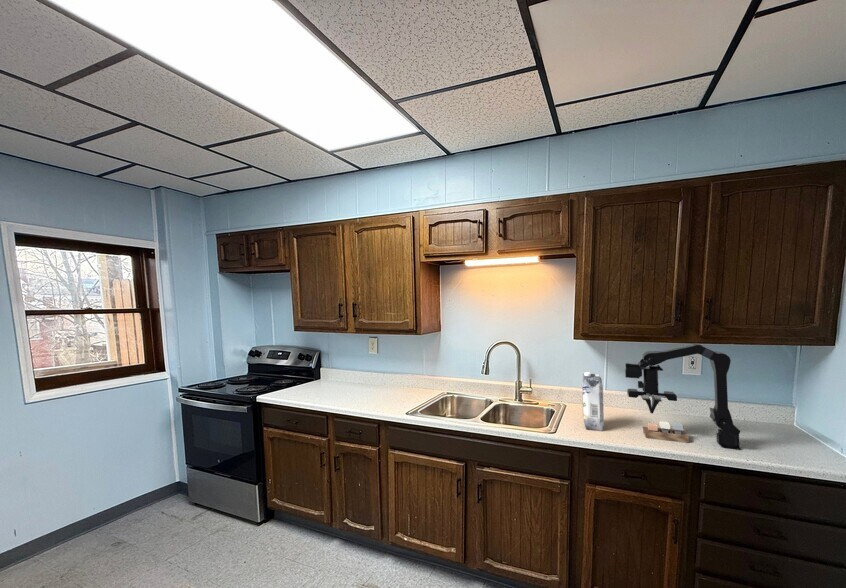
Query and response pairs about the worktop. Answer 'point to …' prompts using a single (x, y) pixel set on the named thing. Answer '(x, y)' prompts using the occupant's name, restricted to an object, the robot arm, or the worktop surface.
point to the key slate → (677, 428)
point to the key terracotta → (652, 427)
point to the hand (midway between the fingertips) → (651, 413)
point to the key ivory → (664, 426)
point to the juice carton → (592, 401)
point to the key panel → (666, 435)
